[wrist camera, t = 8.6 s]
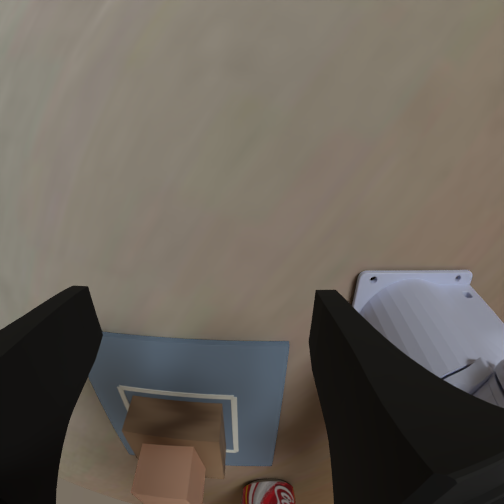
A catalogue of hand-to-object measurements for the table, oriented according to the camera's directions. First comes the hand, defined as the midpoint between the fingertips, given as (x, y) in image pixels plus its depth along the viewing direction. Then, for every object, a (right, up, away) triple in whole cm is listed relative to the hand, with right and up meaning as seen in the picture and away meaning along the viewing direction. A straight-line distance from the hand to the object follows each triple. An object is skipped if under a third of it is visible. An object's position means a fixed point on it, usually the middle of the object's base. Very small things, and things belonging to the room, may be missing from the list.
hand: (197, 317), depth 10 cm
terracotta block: (-5, -16, +13) cm, 21 cm away
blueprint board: (-4, -13, +17) cm, 22 cm away
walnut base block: (-5, -14, +17) cm, 23 cm away
